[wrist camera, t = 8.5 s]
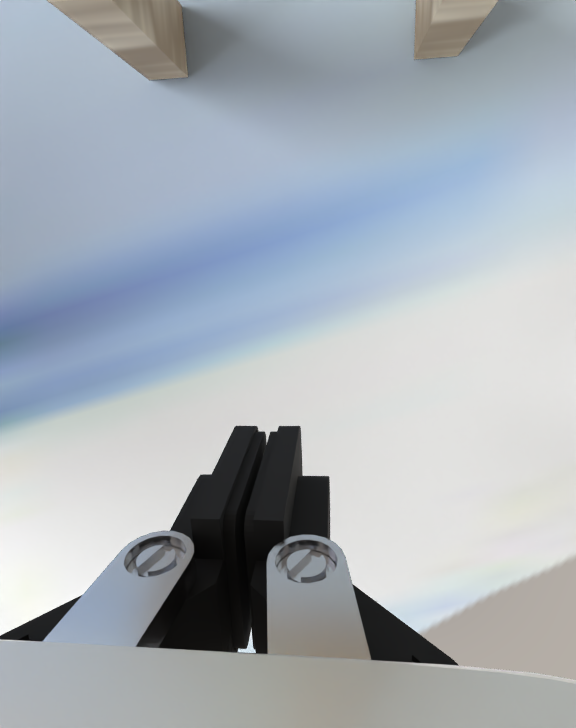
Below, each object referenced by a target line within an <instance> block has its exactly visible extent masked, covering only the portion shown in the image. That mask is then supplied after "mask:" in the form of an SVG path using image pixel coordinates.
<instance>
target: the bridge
mask: <svg viewBox="0 0 576 728" xmlns="http://www.w3.org/2000/svg"><path fill="white" fill-rule="evenodd" d="M47 1H48V2H50V3H51V4H52V5H53V6H55V7H56V8H57V9H59V10H60V11H61V12H62V13H64V14H65V15H66V16H68V17H69V18H70V19H71V20H73V21H74V22H75V23H77V24H78V25H79V26H80V27H82V28H83V29H84V30H86V31H87V32H88V33H89V34H91V35H92V36H93V37H95V38H96V39H97V40H98V41H100V42H101V43H102V44H104V45H105V46H106V47H107V48H109V49H110V50H111V51H113V52H114V53H115V54H116V55H118V56H119V57H120V58H121V59H123V60H124V61H125V62H127V63H128V64H129V65H130V66H132V67H133V68H134V69H136V70H137V71H138V72H139V73H141V74H142V75H143V76H145V77H146V78H147V79H148V80H158V79H171V78H184V77H188V71H187V60H186V49H185V38H184V27H183V16H182V6H181V4H180V3H179V2H178V0H47ZM497 2H498V0H416V15H415V45H414V59H427V58H440V57H453V56H458V55H459V54H460V52H461V51H462V50H463V48H464V47H465V45H466V44H467V43H468V41H469V40H470V39H471V37H472V36H473V35H474V33H475V32H476V30H477V29H478V28H479V26H480V25H481V24H482V22H483V21H484V20H485V18H486V17H487V15H488V14H489V13H490V11H491V10H492V9H493V7H494V6H495V5H496V3H497Z"/></svg>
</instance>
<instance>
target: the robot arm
mask: <svg viewBox="0 0 576 728" xmlns="http://www.w3.org/2000/svg"><path fill="white" fill-rule="evenodd" d="M251 627H252V638H253V648H254V649H256V653H240V652H238V648H240V649H246V648H247V646H248V641H249V636H250V632H251ZM0 728H576V680H574V679H568V678H562V677H556V676H550V675H544V674H538V673H531V672H520V671H509V670H499V669H488V668H478V667H466V666H459V665H458V664H457V663H456V662H455V661H454V660H452V659H451V658H450V657H449V656H447V655H446V654H445V653H443V652H442V651H441V650H439V649H438V648H437V647H435V646H434V645H433V644H431V643H430V642H429V641H427V640H426V639H425V638H423V637H422V636H421V635H420V634H418V633H417V632H416V631H414V630H413V629H412V628H410V627H409V626H408V625H406V624H405V623H404V622H402V621H401V620H400V619H398V618H397V617H396V616H394V615H393V614H392V613H390V612H389V611H388V610H386V609H385V608H384V607H382V606H381V605H380V604H378V603H377V602H376V601H374V600H373V599H372V598H370V597H369V596H368V595H366V594H365V593H364V592H362V591H361V590H360V589H358V588H357V587H356V586H354V585H353V584H352V581H351V577H350V573H349V569H348V565H347V561H346V557H345V555H344V553H343V551H342V549H341V548H340V547H339V546H338V545H337V544H336V543H335V542H333V541H331V540H330V486H329V476H302V449H301V428H300V426H279V428H278V431H277V432H270V435H269V439H268V442H267V445H266V434H265V432H258V428H257V426H235V428H234V430H233V432H232V434H231V436H230V438H229V440H228V442H227V444H226V446H225V448H224V450H223V452H222V455H221V457H220V459H219V461H218V463H217V465H216V467H215V469H214V471H213V473H212V475H200V476H199V478H198V479H197V481H196V483H195V485H194V487H193V488H192V490H191V492H190V494H189V496H188V498H187V500H186V502H185V503H184V505H183V507H182V509H181V511H180V513H179V515H178V516H177V518H176V520H175V522H174V524H173V526H172V528H171V530H170V531H159V532H153V533H149V534H147V535H144V536H141V537H139V538H137V539H136V540H134V541H132V542H130V543H129V544H128V545H127V546H126V547H125V548H124V549H122V550H121V552H120V553H119V554H118V555H117V556H116V557H115V558H114V560H113V561H112V562H111V563H110V564H109V565H108V566H107V568H106V569H105V570H104V571H103V572H102V573H101V575H100V576H99V577H98V578H97V579H96V580H95V581H94V583H93V584H92V585H91V586H90V587H89V588H88V589H87V591H86V592H85V593H84V594H83V595H81V596H79V597H77V598H75V599H73V600H71V601H69V602H67V603H65V604H63V605H61V606H59V607H57V608H55V609H53V610H51V611H49V612H47V613H45V614H43V615H41V616H39V617H37V618H35V619H33V620H31V621H29V622H27V623H25V624H23V625H21V626H19V627H17V628H15V629H13V630H11V631H9V632H7V633H5V634H3V635H1V636H0Z"/></svg>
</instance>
